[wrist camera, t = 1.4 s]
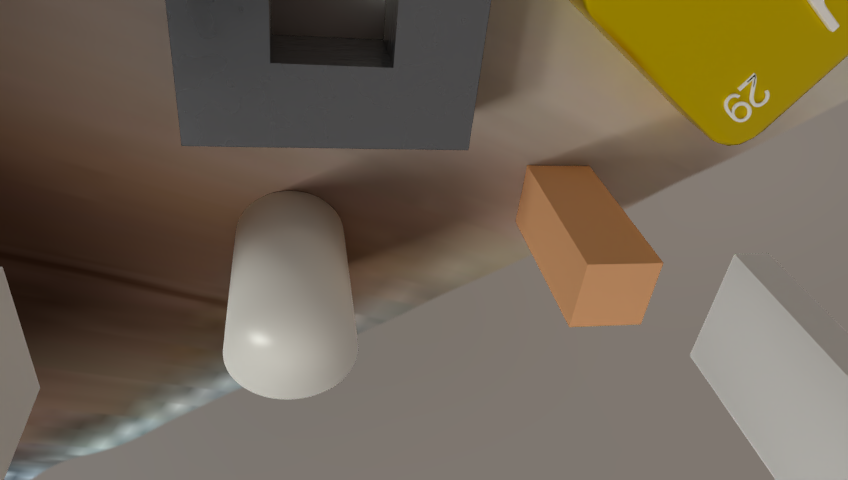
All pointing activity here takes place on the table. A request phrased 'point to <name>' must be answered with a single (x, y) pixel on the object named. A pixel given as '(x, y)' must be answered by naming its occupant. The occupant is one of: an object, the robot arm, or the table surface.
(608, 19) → the element tile
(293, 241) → the round peg
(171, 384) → the table surface
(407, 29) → the bore block
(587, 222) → the square peg
